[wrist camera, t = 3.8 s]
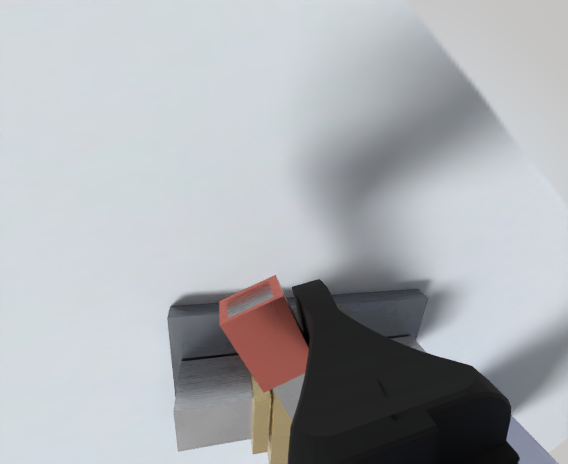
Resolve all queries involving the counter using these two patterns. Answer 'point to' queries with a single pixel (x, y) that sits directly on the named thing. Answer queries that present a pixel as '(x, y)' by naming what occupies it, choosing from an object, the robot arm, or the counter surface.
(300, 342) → the valve lever
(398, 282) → the counter surface
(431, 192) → the counter surface
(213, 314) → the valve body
